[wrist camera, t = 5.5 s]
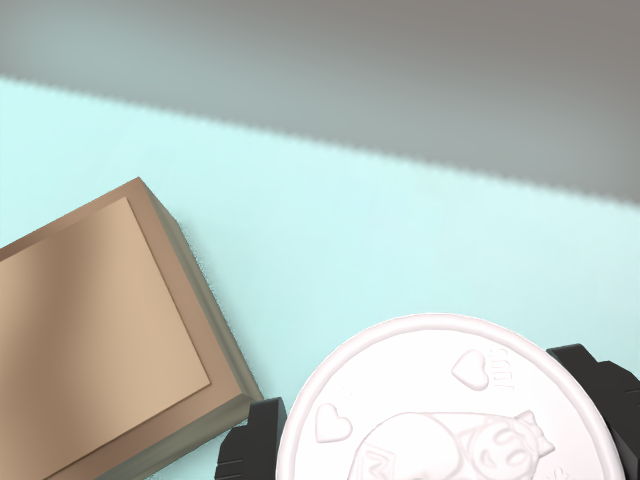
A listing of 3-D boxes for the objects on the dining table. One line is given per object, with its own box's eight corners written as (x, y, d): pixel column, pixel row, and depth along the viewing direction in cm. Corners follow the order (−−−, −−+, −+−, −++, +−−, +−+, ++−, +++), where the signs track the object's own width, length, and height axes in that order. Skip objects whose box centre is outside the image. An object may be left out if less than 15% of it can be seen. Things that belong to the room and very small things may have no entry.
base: (176, 221, 24) (136, 173, 20) (267, 406, 20) (239, 391, 16) (-15, 323, 23) (-97, 293, 19) (46, 536, 19) (-40, 553, 15)
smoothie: (294, 429, 20) (124, 355, 7) (448, 349, 20) (562, 139, 7) (378, 622, 17) (362, 1091, 4) (552, 524, 17) (1011, 676, 5)
